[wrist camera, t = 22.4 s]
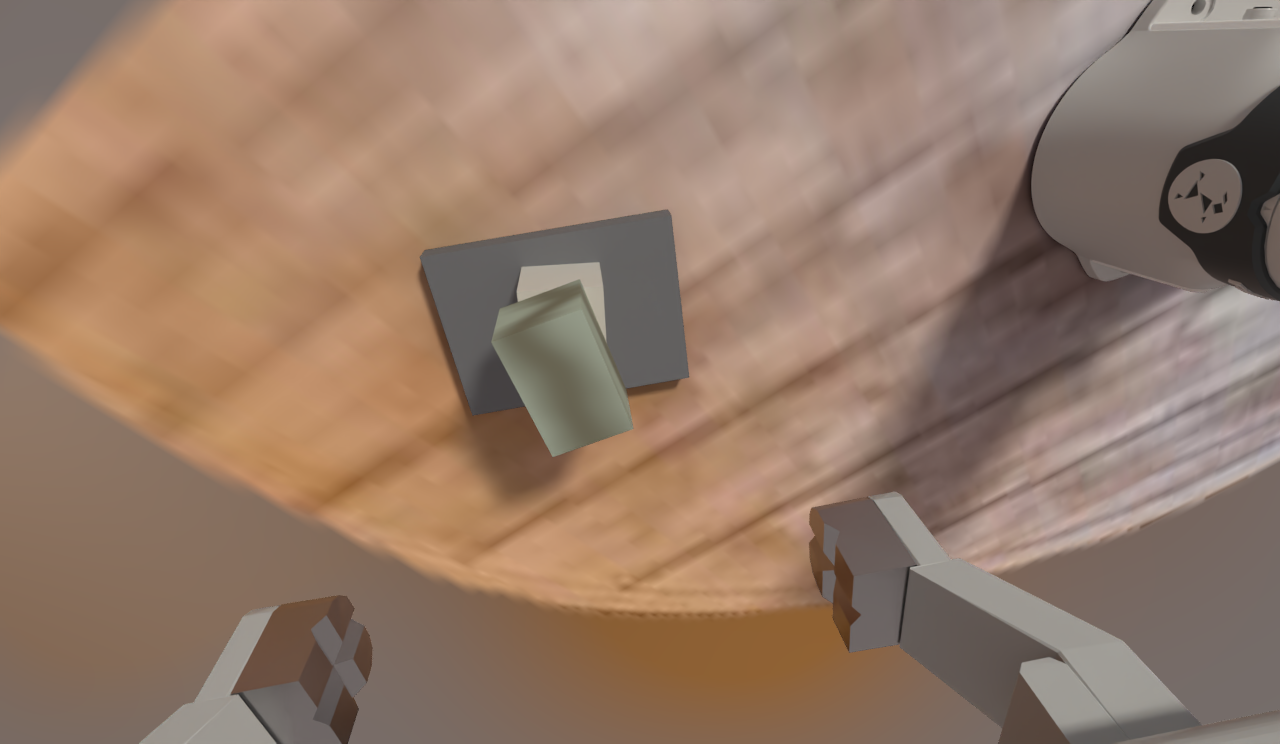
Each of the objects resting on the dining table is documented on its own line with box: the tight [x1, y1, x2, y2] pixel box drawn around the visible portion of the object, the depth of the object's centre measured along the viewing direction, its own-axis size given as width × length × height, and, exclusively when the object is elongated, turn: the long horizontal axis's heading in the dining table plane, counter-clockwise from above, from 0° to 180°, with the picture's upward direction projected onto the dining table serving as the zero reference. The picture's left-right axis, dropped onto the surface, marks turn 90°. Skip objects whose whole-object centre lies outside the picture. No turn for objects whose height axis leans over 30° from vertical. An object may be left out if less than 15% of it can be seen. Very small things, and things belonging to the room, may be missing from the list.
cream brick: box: [517, 262, 607, 342], centre depth 38 cm, size 5×8×4 cm, turn 2°
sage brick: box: [491, 279, 633, 457], centre depth 34 cm, size 5×8×4 cm, turn 19°
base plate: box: [420, 210, 689, 415], centre depth 41 cm, size 16×12×2 cm
